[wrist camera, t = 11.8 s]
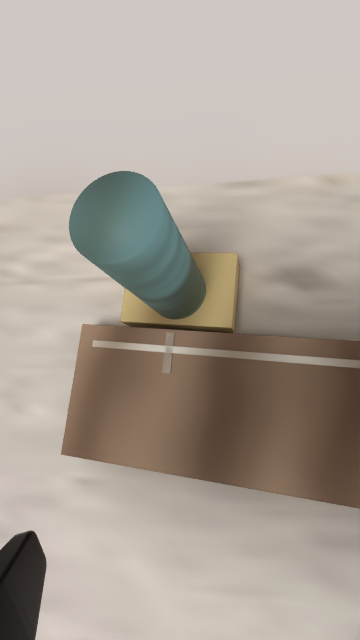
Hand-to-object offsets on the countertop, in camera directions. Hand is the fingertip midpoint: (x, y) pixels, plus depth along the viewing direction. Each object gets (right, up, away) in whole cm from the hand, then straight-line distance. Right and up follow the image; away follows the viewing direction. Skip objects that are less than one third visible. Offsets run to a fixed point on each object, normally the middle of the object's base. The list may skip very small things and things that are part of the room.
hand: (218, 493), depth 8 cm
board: (+2, -1, +12) cm, 12 cm away
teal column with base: (-1, +6, +14) cm, 15 cm away
